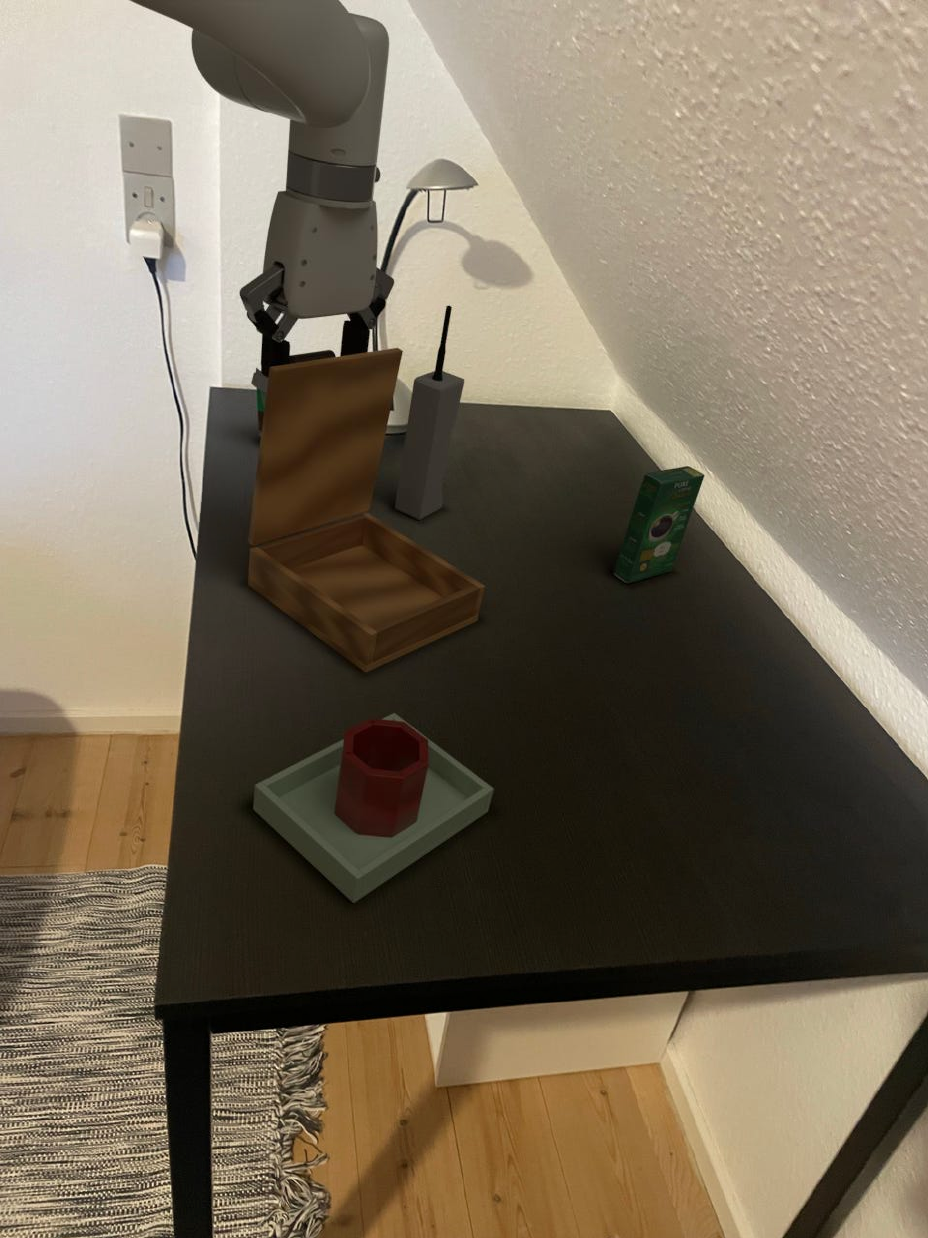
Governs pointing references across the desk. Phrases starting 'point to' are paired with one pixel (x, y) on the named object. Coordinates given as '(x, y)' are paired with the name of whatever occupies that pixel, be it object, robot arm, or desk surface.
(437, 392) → the vintage mobile phone
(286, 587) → the chest
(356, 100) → the robot arm
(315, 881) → the desk surface
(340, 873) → the tray
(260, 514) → the lid
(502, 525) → the desk surface
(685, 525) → the coffee box
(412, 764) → the red octagonal tube
